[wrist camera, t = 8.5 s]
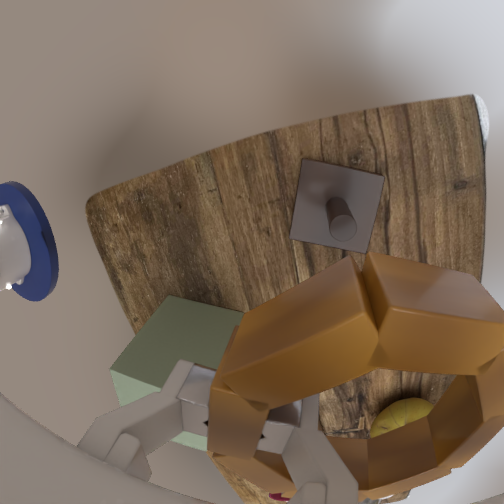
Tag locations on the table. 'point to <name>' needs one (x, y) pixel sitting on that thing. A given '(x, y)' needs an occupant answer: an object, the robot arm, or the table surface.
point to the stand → (335, 205)
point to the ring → (364, 369)
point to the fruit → (400, 415)
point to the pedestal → (173, 350)
